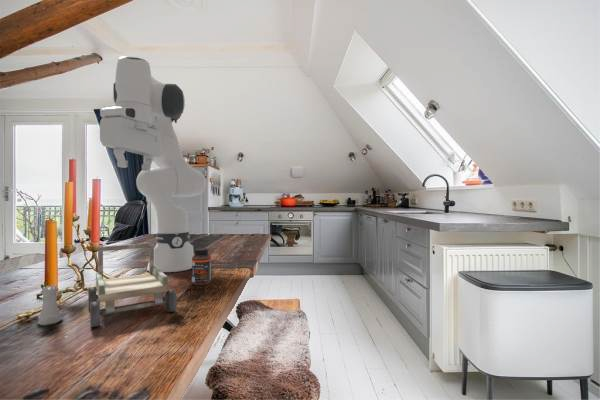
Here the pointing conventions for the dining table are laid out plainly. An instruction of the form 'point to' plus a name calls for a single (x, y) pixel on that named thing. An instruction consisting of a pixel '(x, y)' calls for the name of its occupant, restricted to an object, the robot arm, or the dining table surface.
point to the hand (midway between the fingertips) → (135, 169)
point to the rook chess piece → (49, 306)
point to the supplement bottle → (201, 267)
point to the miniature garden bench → (129, 287)
